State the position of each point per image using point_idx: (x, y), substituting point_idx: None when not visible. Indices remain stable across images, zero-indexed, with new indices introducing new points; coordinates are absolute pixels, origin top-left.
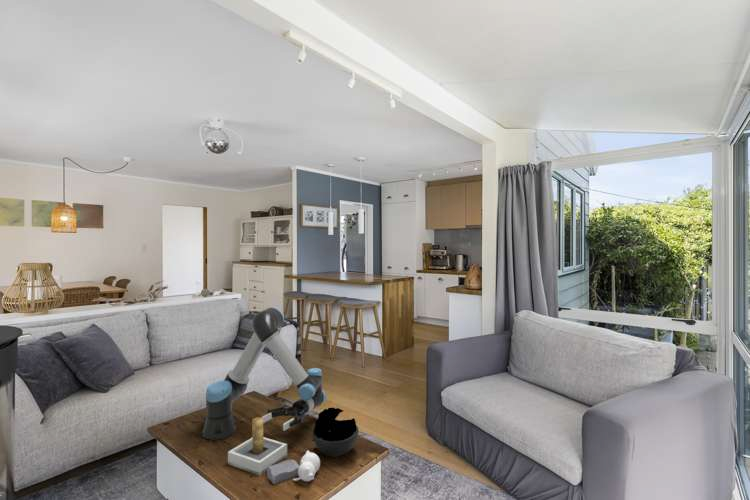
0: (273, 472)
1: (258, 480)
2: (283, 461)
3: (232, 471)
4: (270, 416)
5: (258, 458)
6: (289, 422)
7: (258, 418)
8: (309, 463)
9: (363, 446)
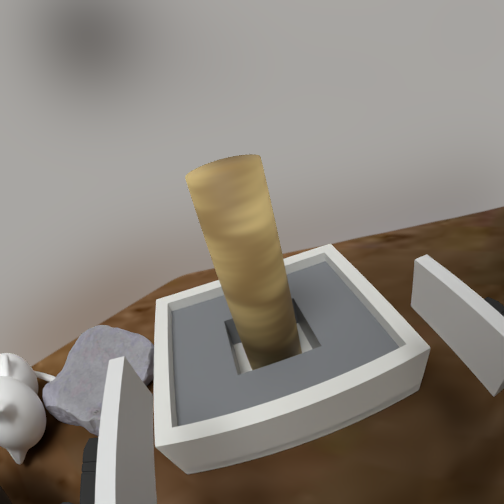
0: (97, 326)
1: None
2: None
3: None
4: (492, 363)
5: (202, 317)
6: (106, 433)
7: (234, 166)
8: None
9: None
